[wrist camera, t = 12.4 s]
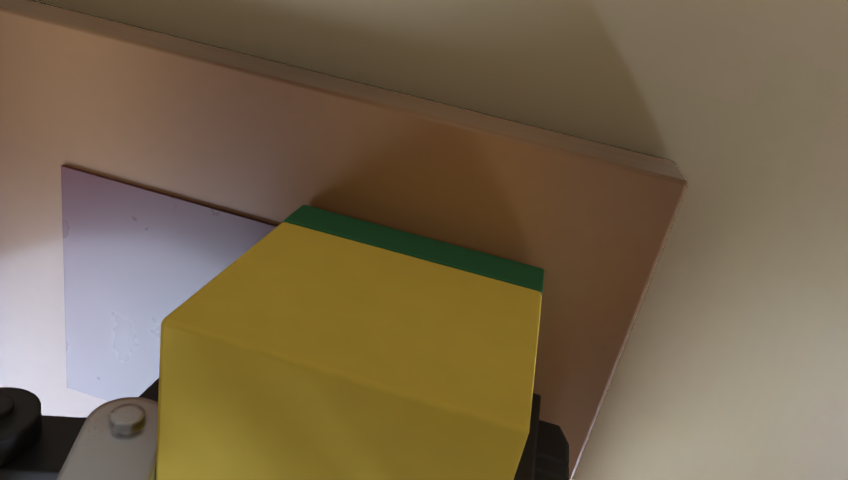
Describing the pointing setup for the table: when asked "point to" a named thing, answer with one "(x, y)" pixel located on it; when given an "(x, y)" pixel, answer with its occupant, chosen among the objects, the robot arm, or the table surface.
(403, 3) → the table surface
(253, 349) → the sponge
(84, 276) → the board
